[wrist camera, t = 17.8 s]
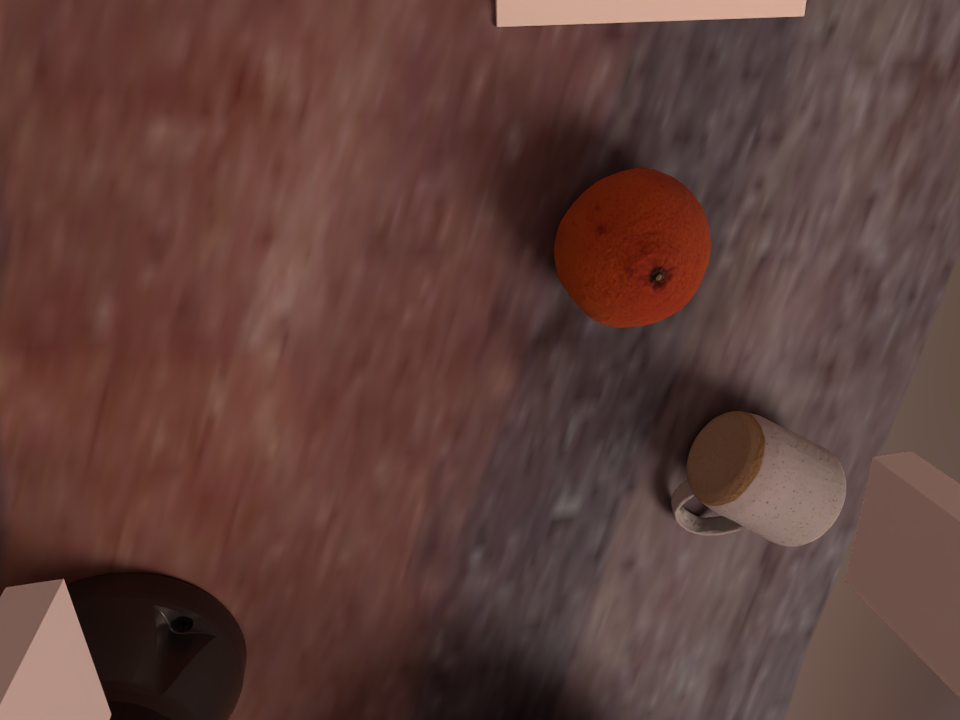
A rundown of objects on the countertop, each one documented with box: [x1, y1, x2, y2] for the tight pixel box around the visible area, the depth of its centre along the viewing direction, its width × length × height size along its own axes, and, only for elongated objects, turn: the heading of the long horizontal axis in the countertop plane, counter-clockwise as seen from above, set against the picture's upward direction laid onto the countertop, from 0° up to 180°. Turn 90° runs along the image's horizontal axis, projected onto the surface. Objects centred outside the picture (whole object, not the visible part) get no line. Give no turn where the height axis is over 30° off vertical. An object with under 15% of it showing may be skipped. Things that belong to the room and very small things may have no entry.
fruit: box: [554, 168, 711, 328], centre depth 40 cm, size 9×9×8 cm
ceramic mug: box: [671, 411, 846, 547], centre depth 49 cm, size 11×8×8 cm
